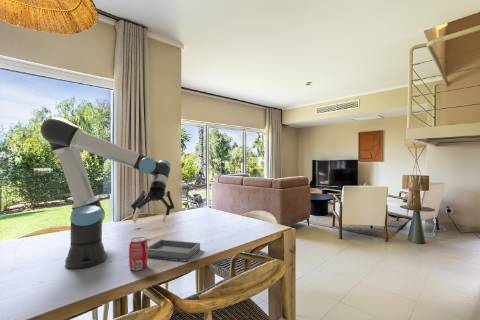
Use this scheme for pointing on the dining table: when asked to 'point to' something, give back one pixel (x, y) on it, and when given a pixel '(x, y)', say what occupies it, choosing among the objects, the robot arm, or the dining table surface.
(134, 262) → the soda can
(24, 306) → the dining table surface
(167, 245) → the tray
